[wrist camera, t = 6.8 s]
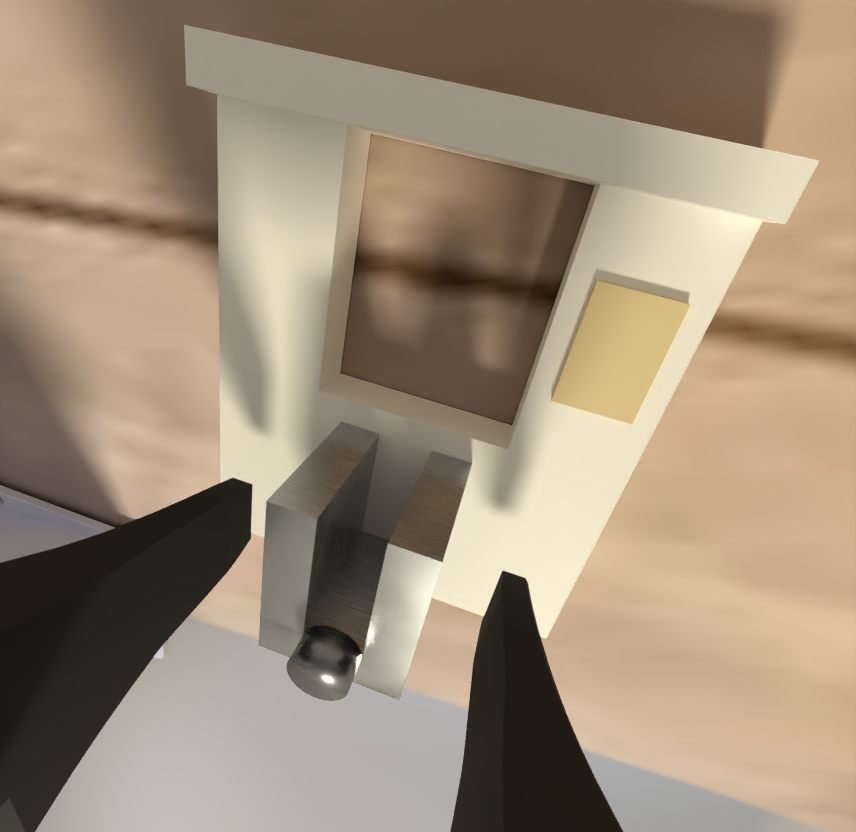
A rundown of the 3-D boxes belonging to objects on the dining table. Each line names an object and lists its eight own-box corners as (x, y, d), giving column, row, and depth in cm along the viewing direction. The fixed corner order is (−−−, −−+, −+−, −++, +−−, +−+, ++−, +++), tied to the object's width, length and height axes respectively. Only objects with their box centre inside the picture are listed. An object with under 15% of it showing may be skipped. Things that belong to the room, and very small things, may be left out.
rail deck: (245, 498, 18) (202, 540, 16) (255, 58, 11) (184, 24, 9) (546, 603, 16) (545, 665, 14) (759, 168, 10) (819, 160, 8)
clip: (324, 545, 16) (241, 672, 12) (341, 421, 13) (244, 524, 9) (434, 584, 15) (389, 732, 11) (472, 463, 13) (433, 592, 9)
